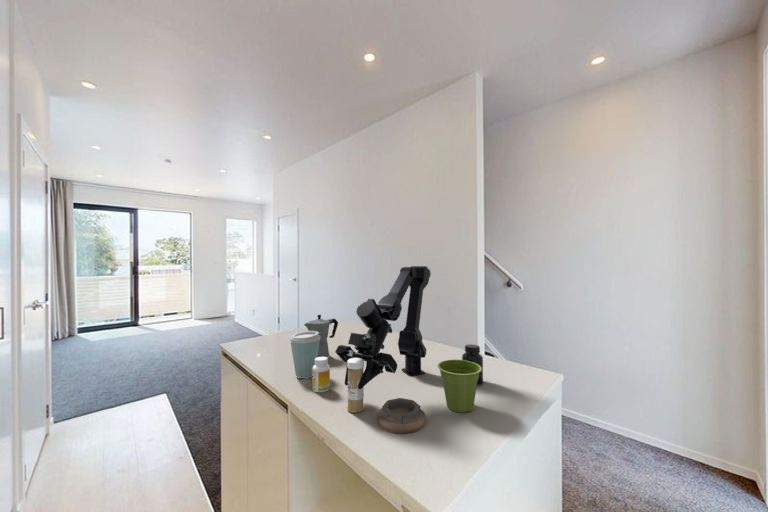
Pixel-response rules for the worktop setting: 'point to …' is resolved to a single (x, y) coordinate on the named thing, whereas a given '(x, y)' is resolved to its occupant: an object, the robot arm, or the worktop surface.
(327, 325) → the coffeepot
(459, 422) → the worktop surface
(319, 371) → the supplement bottle
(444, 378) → the plant pot
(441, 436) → the worktop surface
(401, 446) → the worktop surface
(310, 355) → the disposable coffee cup
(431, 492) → the worktop surface
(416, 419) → the brown grey round base
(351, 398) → the sprinkles bottle
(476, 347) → the supplement bottle
